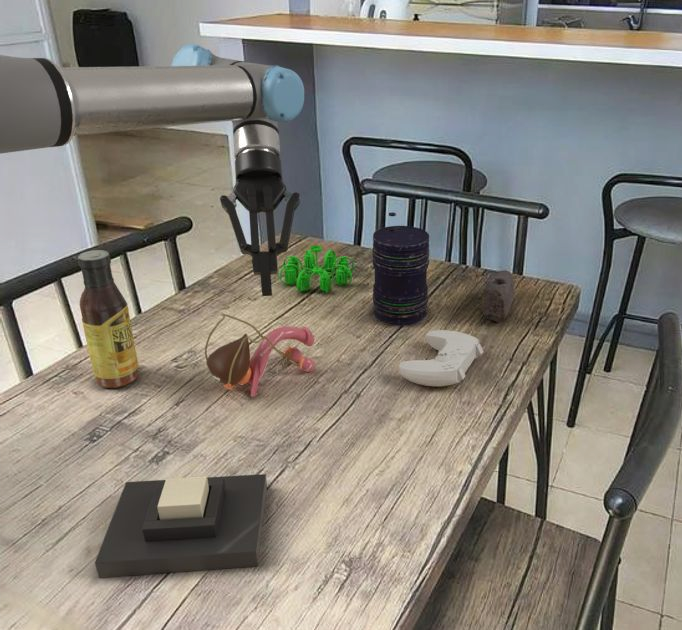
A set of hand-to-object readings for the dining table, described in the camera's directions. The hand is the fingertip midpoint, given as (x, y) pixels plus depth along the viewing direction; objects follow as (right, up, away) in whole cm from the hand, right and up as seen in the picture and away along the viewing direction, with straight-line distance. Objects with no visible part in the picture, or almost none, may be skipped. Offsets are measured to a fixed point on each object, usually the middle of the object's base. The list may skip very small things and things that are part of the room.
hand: (266, 293), depth 107 cm
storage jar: (+20, -3, +16) cm, 26 cm away
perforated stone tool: (+38, -3, +19) cm, 43 cm away
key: (-2, -24, -33) cm, 41 cm away
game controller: (+28, -12, 0) cm, 30 cm away
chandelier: (+4, +3, +28) cm, 28 cm away
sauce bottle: (-21, -13, -5) cm, 25 cm away
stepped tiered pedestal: (-2, -27, -31) cm, 41 cm away
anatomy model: (+1, -13, -4) cm, 14 cm away
